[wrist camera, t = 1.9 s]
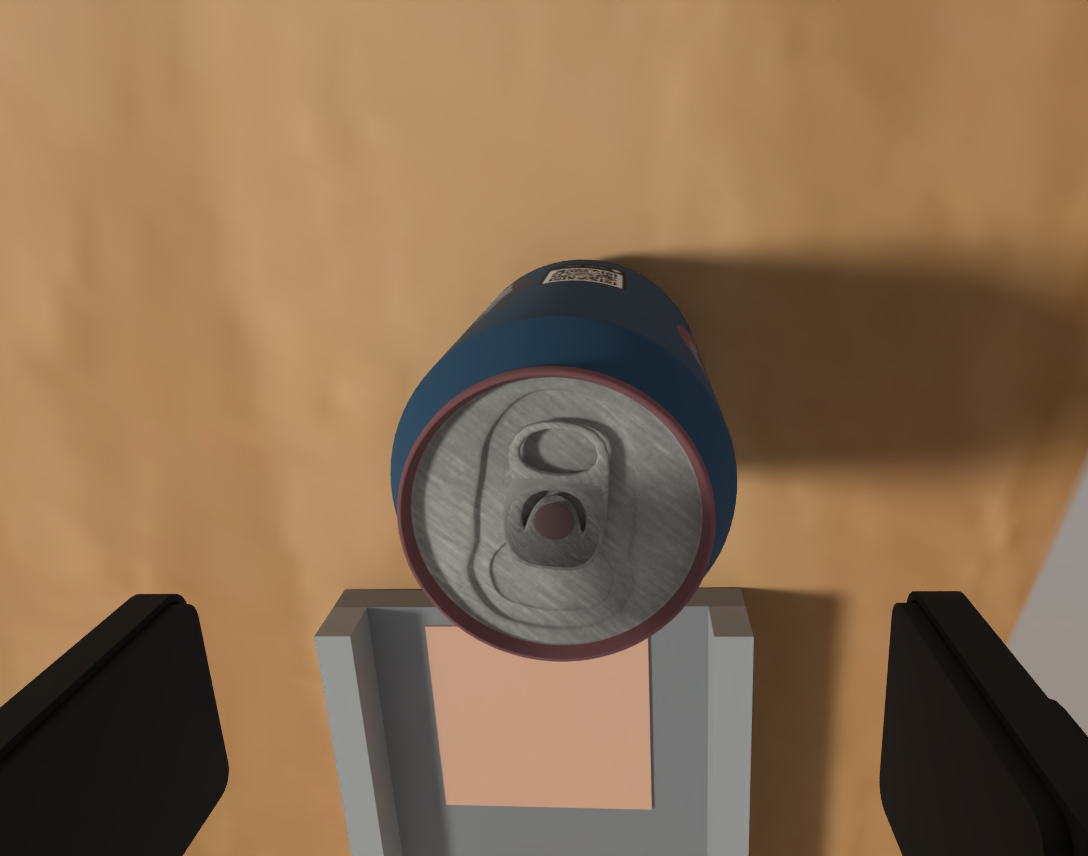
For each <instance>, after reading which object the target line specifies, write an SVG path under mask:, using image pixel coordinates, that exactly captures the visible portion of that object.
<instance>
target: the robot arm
mask: <svg viewBox="0 0 1088 856" xmlns="http://www.w3.org/2000/svg"><path fill="white" fill-rule="evenodd" d="M228 775H229V766H228V760H227V755H226V750H225V745H224V740H223V735H222V730H221V725H220V720H219V715H218V710H217V705H216V701H215V696H214V691H213V686H212V681H211V676H210V671H209V666H208V661H207V656H206V651H205V646H204V641H203V636H202V632H201V627H200V622H199V617H198V613H197V610H196V609H195V607H194V606H192V605H190V604H187V603H186V601H185V600H184V598H183V597H182V596H180V595H178V594H136V595H135V596H133V597H131V598H130V599H129V600H127V601H126V602H125V603H124V604H123V605H121V606H120V607H119V608H118V609H117V610H116V611H114V612H113V613H112V614H111V615H110V616H108V617H107V618H106V619H105V620H104V621H102V622H101V623H100V624H99V625H98V626H97V627H95V628H94V629H93V630H92V631H91V632H89V633H88V634H87V635H86V636H85V637H83V638H82V639H81V640H80V641H79V642H78V643H76V644H75V645H74V646H73V647H72V648H70V649H69V650H68V651H67V652H66V653H65V654H63V655H62V656H61V657H60V658H59V659H57V660H56V661H55V662H54V663H53V664H51V665H50V666H49V667H48V668H47V669H46V670H44V671H43V672H42V673H41V674H40V675H38V676H37V677H36V678H35V679H34V680H32V681H31V682H30V683H29V684H28V685H27V686H25V687H24V688H23V689H22V690H21V691H19V692H18V693H17V694H16V695H15V696H14V697H12V698H11V699H10V700H9V701H8V702H6V703H5V704H4V705H3V706H2V707H0V856H183V854H184V853H185V851H186V850H187V848H188V847H189V845H190V844H191V842H192V840H193V839H194V837H195V836H196V834H197V833H198V831H199V830H200V828H201V827H202V825H203V824H204V822H205V821H206V819H207V818H208V816H209V815H210V813H211V812H212V810H213V809H214V807H215V805H216V804H217V802H218V801H219V799H220V798H221V796H222V795H223V793H224V791H225V788H226V785H227V781H228ZM880 794H881V800H882V804H883V808H884V811H885V814H886V816H887V818H888V821H889V823H890V826H891V828H892V831H893V833H894V836H895V838H896V841H897V843H898V845H899V848H900V850H901V853H902V855H903V856H1088V737H1087V735H1086V734H1085V733H1084V732H1083V730H1082V729H1081V728H1080V727H1079V726H1078V724H1077V723H1076V722H1075V721H1074V720H1073V718H1072V717H1071V716H1070V715H1069V714H1068V712H1067V711H1066V710H1065V709H1064V708H1063V707H1062V706H1061V705H1060V704H1059V703H1058V702H1057V701H1055V700H1052V699H1049V698H1048V697H1047V696H1046V695H1045V693H1044V692H1043V691H1042V690H1041V689H1040V687H1039V686H1038V685H1037V684H1036V682H1035V681H1034V680H1033V679H1032V678H1031V676H1030V675H1029V674H1028V672H1027V671H1026V670H1025V669H1024V668H1023V666H1022V665H1021V664H1020V663H1019V661H1018V660H1017V659H1016V658H1015V657H1014V655H1013V654H1012V653H1011V652H1010V650H1009V649H1008V648H1007V647H1006V645H1005V644H1004V643H1003V642H1002V640H1001V639H1000V638H999V637H998V636H997V634H996V633H995V632H994V631H993V629H992V628H991V627H990V626H989V624H988V623H987V622H986V621H985V620H984V618H983V617H982V616H981V615H980V613H979V612H978V611H977V610H976V608H975V607H974V606H973V605H972V604H971V602H970V601H969V600H968V599H967V597H966V596H965V595H964V594H963V593H962V592H960V591H912V592H911V593H910V594H909V597H908V599H907V603H896V604H895V605H894V607H893V611H892V620H891V634H890V647H889V660H888V673H887V686H886V700H885V713H884V726H883V739H882V752H881V766H880Z"/></svg>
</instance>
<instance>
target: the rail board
mask: <svg viewBox="0 0 1088 856" xmlns="http://www.w3.org/2000/svg"><path fill="white" fill-rule="evenodd" d="M315 642H316V648H317V654H318V660H319V666H320V672H321V678H322V684H323V690H324V696H325V702H326V708H327V714H328V720H329V726H330V732H331V738H332V743H333V749H334V755H335V761H336V767H337V773H338V779H339V785H340V791H341V797H342V803H343V809H344V815H345V821H346V827H347V833H348V839H349V845H350V851H351V856H749V816H750V775H751V733H752V692H753V651H754V636H753V632H752V628H751V625H750V621H749V617H748V614H747V610H746V606H745V603H744V599H743V595H742V592H741V588H698V589H697V590H696V592H695V594H694V595H693V597H692V598H691V599H690V601H689V602H688V603H687V605H686V606H685V607H684V608H683V609H682V610H681V612H680V613H679V614H678V615H677V616H676V617H675V618H673V619H672V620H671V621H670V622H669V623H668V624H667V625H665V626H664V627H663V628H662V629H660V630H659V631H658V632H656V633H655V634H653V635H652V636H650V637H649V638H647V639H645V640H644V641H642V642H640V643H638V644H636V645H634V646H632V647H630V648H628V649H625V650H623V651H620V652H617V653H614V654H611V655H608V656H604V657H600V658H595V659H590V660H582V661H570V662H554V661H542V660H535V659H529V658H524V657H520V656H516V655H513V654H509V653H506V652H504V651H501V650H498V649H496V648H493V647H491V646H489V645H487V644H485V643H483V642H481V641H479V640H477V639H475V638H474V637H472V636H470V635H469V634H467V633H466V632H464V631H463V630H461V629H460V628H459V627H457V626H456V625H455V624H454V623H452V622H451V621H450V620H449V619H448V618H447V617H446V616H444V615H443V614H442V613H441V612H440V611H439V610H438V608H437V607H436V606H435V605H434V604H433V603H432V602H431V600H430V599H429V598H428V597H427V595H426V594H425V593H424V591H423V590H344V592H343V593H342V595H341V596H340V598H339V599H338V601H337V603H336V604H335V606H334V607H333V609H332V610H331V612H330V613H329V615H328V616H327V618H326V619H325V621H324V623H323V624H322V626H321V627H320V629H319V630H318V632H317V633H316V635H315Z"/></svg>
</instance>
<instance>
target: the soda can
mask: <svg viewBox="0 0 1088 856" xmlns="http://www.w3.org/2000/svg"><path fill="white" fill-rule="evenodd" d="M391 488H392V496H393V501H394V506H395V511H396V514H397V521H398V529H399V535H400V540H401V544H402V548H403V551H404V554H405V557H406V559H407V562H408V565H409V567H410V569H411V571H412V573H413V575H414V577H415V578H416V580H417V582H418V584H419V585H420V587H421V588H422V590H423V591H424V593H425V594H426V595H427V597H428V598H429V599H430V600H431V602H432V603H433V604H434V605H435V606H436V607H437V608H438V610H439V611H440V612H441V613H442V614H443V615H444V616H446V617H447V618H448V619H449V620H450V621H451V622H452V623H454V624H455V625H456V626H457V627H459V628H460V629H461V630H463V631H464V632H466V633H467V634H469V635H470V636H472V637H474V638H475V639H477V640H479V641H481V642H483V643H485V644H487V645H489V646H491V647H493V648H496V649H498V650H501V651H504V652H506V653H509V654H513V655H516V656H520V657H524V658H529V659H535V660H542V661H554V662H570V661H582V660H590V659H595V658H600V657H604V656H608V655H611V654H614V653H617V652H620V651H623V650H625V649H628V648H630V647H632V646H634V645H636V644H638V643H640V642H642V641H644V640H645V639H647V638H649V637H650V636H652V635H653V634H655V633H656V632H658V631H659V630H660V629H662V628H663V627H664V626H665V625H667V624H668V623H669V622H670V621H671V620H672V619H673V618H675V617H676V616H677V615H678V614H679V613H680V612H681V610H682V609H683V608H684V607H685V606H686V605H687V603H688V602H689V601H690V599H691V598H692V597H693V595H694V594H695V592H696V590H697V589H698V587H699V585H700V584H701V581H702V579H703V577H704V576H705V575H706V574H707V572H708V571H709V570H710V568H711V567H712V565H713V564H714V562H715V561H716V559H717V557H718V555H719V554H720V552H721V550H722V548H723V545H724V543H725V541H726V538H727V536H728V533H729V530H730V527H731V523H732V519H733V515H734V510H735V504H736V495H737V469H736V460H735V454H734V449H733V445H732V441H731V437H730V435H729V432H728V429H727V426H726V423H725V421H724V418H723V415H722V413H721V410H720V407H719V405H718V402H717V399H716V397H715V394H714V392H713V389H712V386H711V384H710V381H709V378H708V376H707V373H706V371H705V368H704V365H703V363H702V360H701V357H700V355H699V352H698V349H697V347H696V344H695V342H694V339H693V336H692V334H691V331H690V329H689V327H688V324H687V323H686V321H685V319H684V317H683V315H682V314H681V312H680V311H679V309H678V308H677V306H676V305H675V304H674V303H673V301H672V300H671V299H670V298H669V297H668V296H667V295H666V294H665V293H664V292H663V291H662V290H661V289H660V288H659V287H658V286H656V285H655V284H654V283H652V282H651V281H650V280H648V279H647V278H645V277H643V276H642V275H640V274H638V273H636V272H634V271H632V270H630V269H627V268H625V267H622V266H619V265H616V264H612V263H608V262H603V261H596V260H570V261H562V262H558V263H553V264H550V265H546V266H543V267H541V268H538V269H536V270H534V271H532V272H530V273H528V274H526V275H524V276H522V277H521V278H519V279H518V280H516V281H515V282H513V283H512V284H511V285H510V286H508V287H507V288H506V289H505V290H504V291H503V292H502V293H501V294H500V295H499V296H498V297H497V298H496V299H495V300H494V301H493V302H492V303H491V305H490V306H489V307H488V308H487V309H486V310H485V311H484V312H483V313H482V314H481V315H480V317H479V318H478V319H477V320H476V321H475V322H474V323H473V324H472V325H471V326H470V327H469V329H468V330H467V331H466V332H465V333H464V334H463V335H462V336H461V337H460V338H459V339H458V341H457V342H456V343H455V344H454V345H453V346H452V347H451V348H450V349H449V350H448V351H447V353H446V354H445V355H444V356H443V357H442V358H441V359H440V360H439V361H438V362H437V363H436V365H435V366H434V367H433V368H432V369H431V370H430V371H429V372H428V374H427V375H426V376H425V377H424V378H423V380H422V381H421V382H420V384H419V385H418V386H417V388H416V389H415V391H414V393H413V394H412V396H411V398H410V399H409V401H408V403H407V405H406V407H405V409H404V411H403V414H402V416H401V419H400V421H399V424H398V428H397V431H396V434H395V439H394V444H393V449H392V457H391Z"/></svg>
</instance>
